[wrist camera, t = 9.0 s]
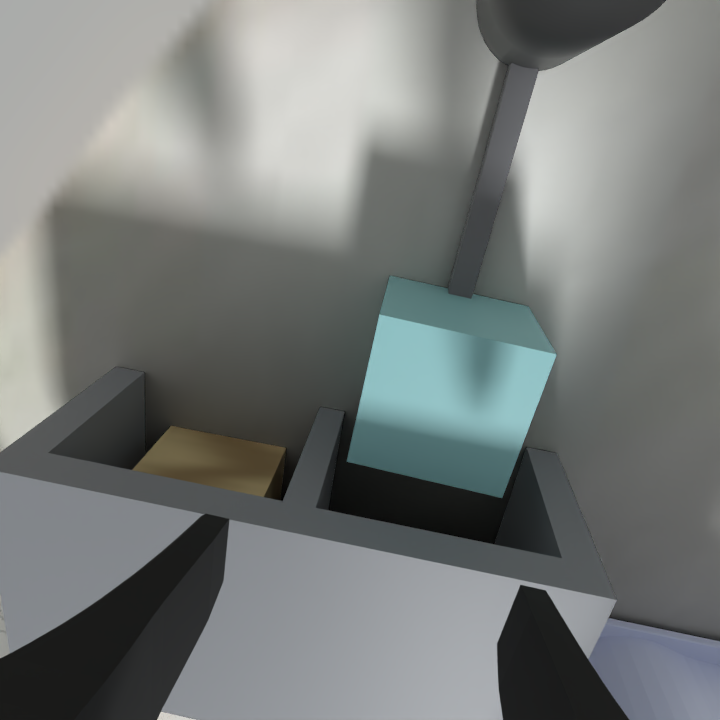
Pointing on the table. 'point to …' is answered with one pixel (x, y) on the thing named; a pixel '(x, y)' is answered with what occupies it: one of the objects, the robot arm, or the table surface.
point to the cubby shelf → (289, 572)
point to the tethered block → (458, 303)
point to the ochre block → (217, 462)
